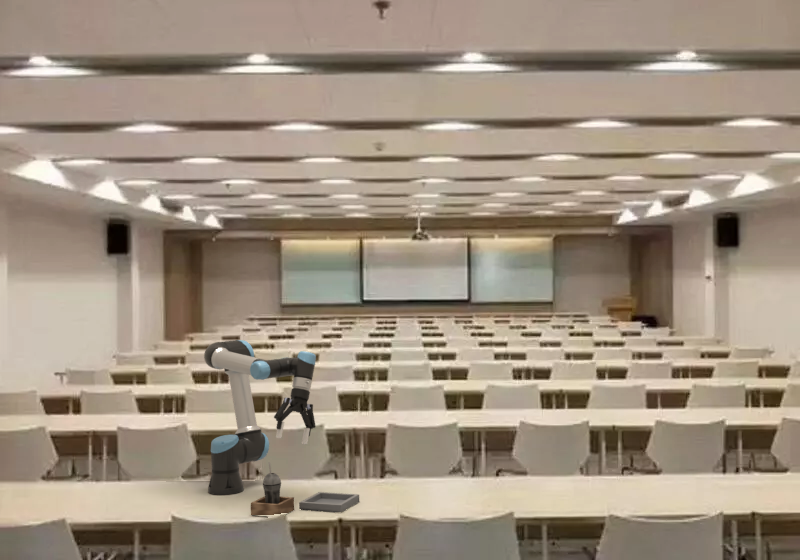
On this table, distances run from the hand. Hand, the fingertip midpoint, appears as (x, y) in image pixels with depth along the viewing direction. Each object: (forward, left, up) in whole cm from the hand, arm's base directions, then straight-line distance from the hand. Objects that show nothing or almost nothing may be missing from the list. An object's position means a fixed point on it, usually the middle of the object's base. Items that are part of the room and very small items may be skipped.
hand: (291, 441), depth 395 cm
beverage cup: (-1, -15, -26) cm, 30 cm away
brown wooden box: (-1, -15, -26) cm, 30 cm away
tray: (+16, +1, -26) cm, 30 cm away
